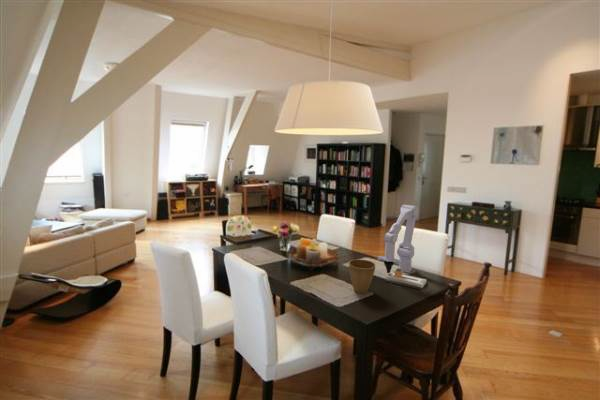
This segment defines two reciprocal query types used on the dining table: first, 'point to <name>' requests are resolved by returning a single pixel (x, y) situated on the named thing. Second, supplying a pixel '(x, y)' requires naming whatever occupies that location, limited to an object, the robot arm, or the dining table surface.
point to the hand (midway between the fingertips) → (388, 272)
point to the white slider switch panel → (407, 279)
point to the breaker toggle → (398, 272)
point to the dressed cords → (404, 283)
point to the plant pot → (361, 274)
